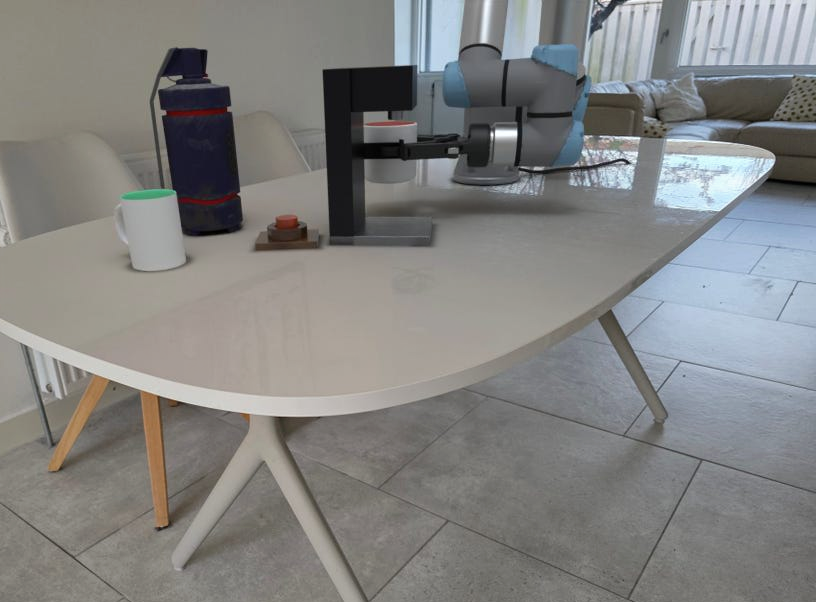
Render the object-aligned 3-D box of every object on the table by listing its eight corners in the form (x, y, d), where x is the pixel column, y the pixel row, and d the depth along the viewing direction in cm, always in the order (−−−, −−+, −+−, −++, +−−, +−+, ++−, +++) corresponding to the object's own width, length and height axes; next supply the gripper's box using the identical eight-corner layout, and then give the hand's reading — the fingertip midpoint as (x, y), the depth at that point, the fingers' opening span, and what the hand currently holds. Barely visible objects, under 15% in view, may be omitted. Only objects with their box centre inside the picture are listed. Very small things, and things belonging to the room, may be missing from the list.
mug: (102, 264, 96) (88, 196, 91) (140, 251, 102) (129, 186, 98) (160, 273, 90) (148, 201, 86) (197, 258, 97) (187, 190, 92)
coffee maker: (432, 225, 111) (436, 63, 99) (428, 245, 98) (433, 64, 87) (343, 224, 113) (338, 68, 102) (329, 245, 101) (322, 69, 90)
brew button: (298, 224, 104) (298, 214, 103) (297, 230, 100) (296, 219, 100) (277, 225, 104) (276, 215, 103) (275, 230, 100) (274, 220, 100)
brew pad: (319, 236, 107) (318, 218, 105) (317, 248, 99) (316, 230, 98) (261, 238, 107) (259, 220, 106) (255, 250, 100) (253, 232, 98)
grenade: (238, 218, 121) (220, 47, 108) (248, 232, 111) (230, 44, 98) (166, 226, 118) (138, 50, 105) (169, 241, 107) (139, 47, 94)
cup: (418, 184, 112) (419, 125, 107) (363, 185, 112) (361, 127, 108) (413, 175, 121) (414, 120, 116) (362, 176, 121) (361, 122, 117)
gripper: (490, 177, 102) (357, 178, 106) (486, 158, 122) (374, 159, 126) (494, 129, 99) (356, 132, 103) (489, 117, 119) (374, 120, 123)
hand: (366, 147), depth 115 cm, fingers closed on cup, 10 cm apart
